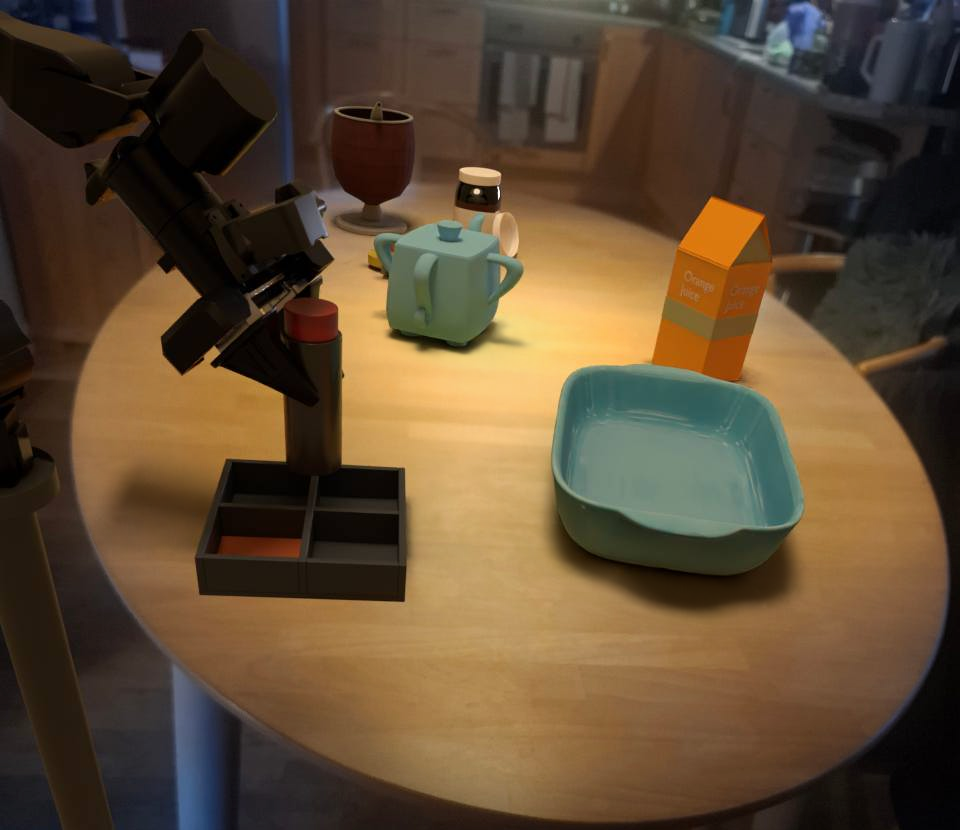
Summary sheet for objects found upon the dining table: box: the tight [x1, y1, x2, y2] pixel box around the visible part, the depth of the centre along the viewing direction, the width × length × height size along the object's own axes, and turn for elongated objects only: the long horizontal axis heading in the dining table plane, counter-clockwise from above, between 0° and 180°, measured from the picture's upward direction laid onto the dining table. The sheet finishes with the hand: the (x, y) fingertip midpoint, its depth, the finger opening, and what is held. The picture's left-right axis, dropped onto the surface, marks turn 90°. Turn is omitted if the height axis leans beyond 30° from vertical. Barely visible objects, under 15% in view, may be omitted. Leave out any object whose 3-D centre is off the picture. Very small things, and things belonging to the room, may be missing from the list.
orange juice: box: [651, 195, 774, 382], centre depth 109 cm, size 8×9×20 cm
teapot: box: [373, 213, 525, 347], centre depth 115 cm, size 18×16×14 cm
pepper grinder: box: [281, 297, 343, 476], centre depth 70 cm, size 5×5×13 cm
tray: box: [194, 458, 408, 603], centre depth 74 cm, size 16×16×4 cm
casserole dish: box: [550, 363, 806, 576], centre depth 86 cm, size 37×22×7 cm, turn 172°
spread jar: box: [452, 166, 520, 258], centre depth 146 cm, size 12×11×12 cm
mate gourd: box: [330, 101, 416, 237], centre depth 149 cm, size 16×14×20 cm
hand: (328, 391), depth 70 cm, fingers closed on pepper grinder, 4 cm apart
